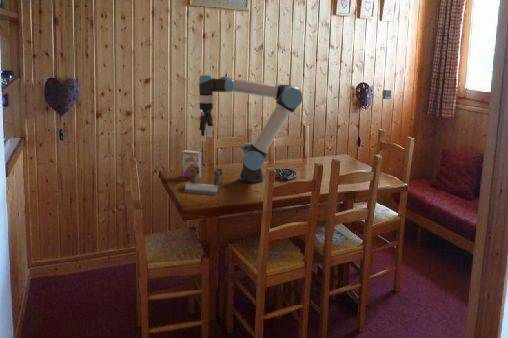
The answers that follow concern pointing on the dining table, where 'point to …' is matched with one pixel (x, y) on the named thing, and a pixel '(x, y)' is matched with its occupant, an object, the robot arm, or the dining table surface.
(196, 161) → the candy bar box
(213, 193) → the mat
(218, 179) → the post
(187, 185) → the rail
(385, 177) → the dining table surface
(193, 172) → the post
